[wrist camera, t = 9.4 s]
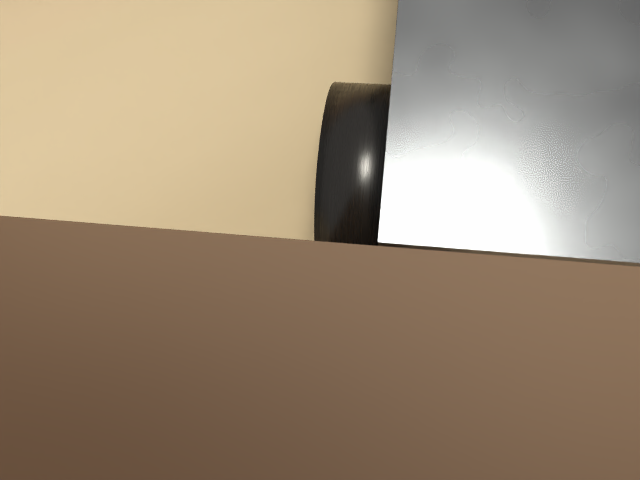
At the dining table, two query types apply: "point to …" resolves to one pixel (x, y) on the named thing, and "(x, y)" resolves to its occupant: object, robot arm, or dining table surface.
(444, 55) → the trolley
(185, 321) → the brown rectangular pillar
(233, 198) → the dining table surface
